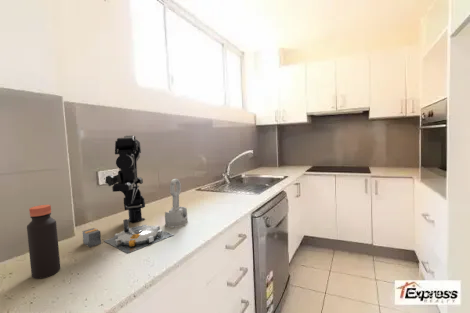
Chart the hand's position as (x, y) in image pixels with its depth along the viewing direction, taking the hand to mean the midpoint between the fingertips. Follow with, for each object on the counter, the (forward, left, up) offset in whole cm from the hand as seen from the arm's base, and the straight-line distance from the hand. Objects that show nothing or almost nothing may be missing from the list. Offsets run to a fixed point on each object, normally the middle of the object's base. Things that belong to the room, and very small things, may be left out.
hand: (130, 203), depth 103 cm
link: (-1, -15, -12) cm, 20 cm away
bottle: (+11, -32, -12) cm, 36 cm away
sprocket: (+10, -2, -12) cm, 16 cm away
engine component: (+8, +18, -12) cm, 23 cm away
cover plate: (+10, -2, -12) cm, 16 cm away
